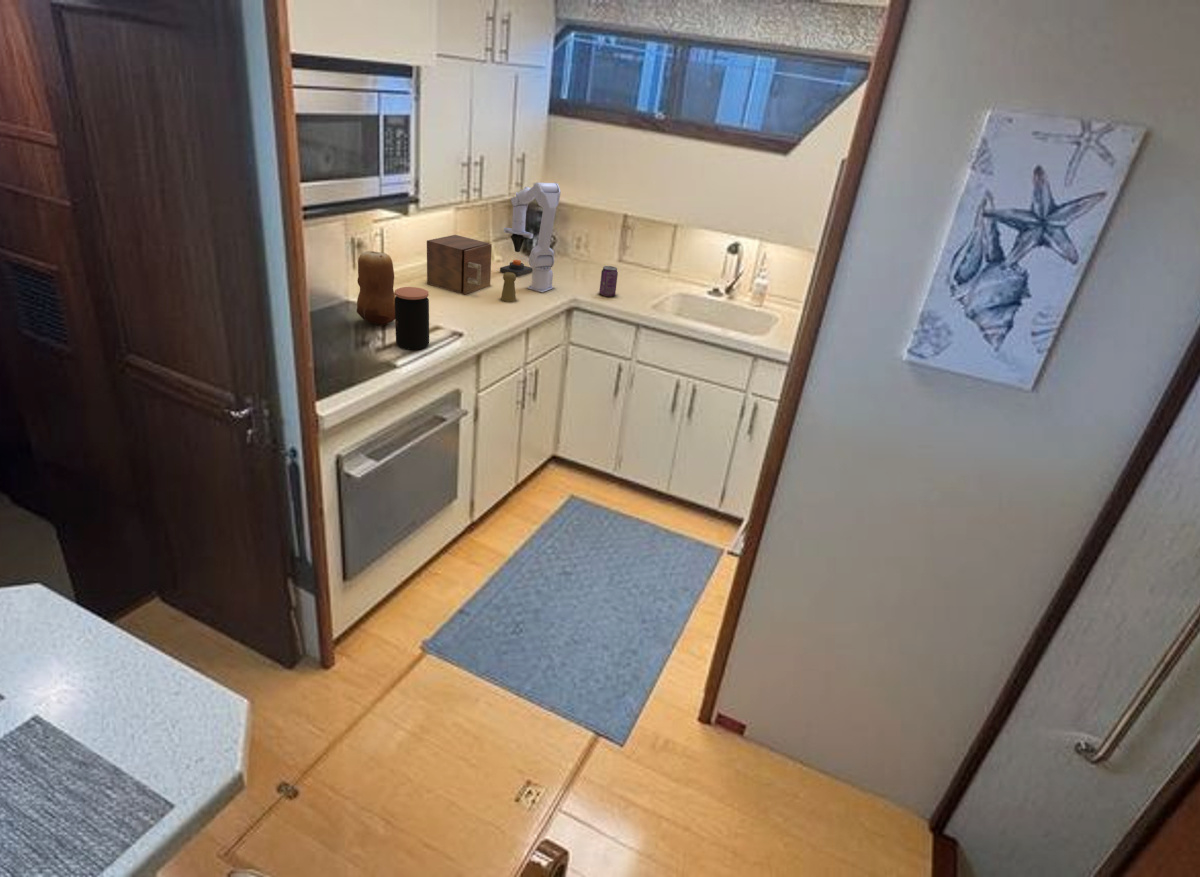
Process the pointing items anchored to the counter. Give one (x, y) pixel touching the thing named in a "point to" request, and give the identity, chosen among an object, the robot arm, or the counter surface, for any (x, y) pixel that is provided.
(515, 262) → the button
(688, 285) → the counter surface
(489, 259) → the door
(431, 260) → the cupboard
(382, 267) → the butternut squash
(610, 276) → the beverage can
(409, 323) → the coffee jar
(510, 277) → the pepper shaker
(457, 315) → the counter surface
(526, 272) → the switch block
